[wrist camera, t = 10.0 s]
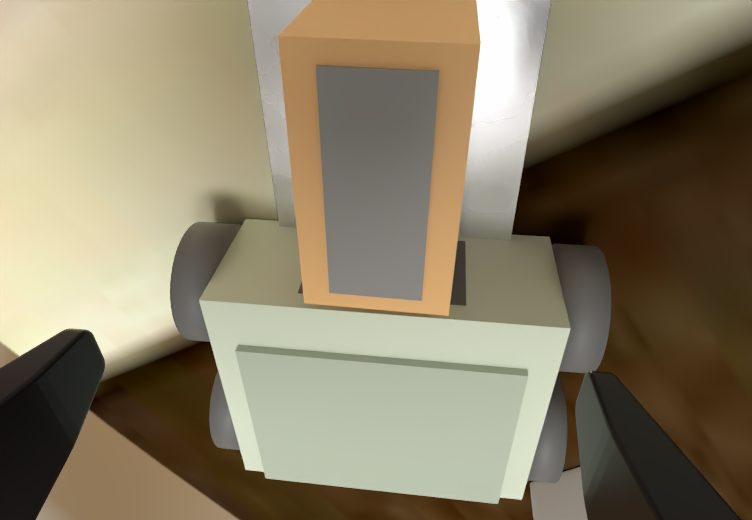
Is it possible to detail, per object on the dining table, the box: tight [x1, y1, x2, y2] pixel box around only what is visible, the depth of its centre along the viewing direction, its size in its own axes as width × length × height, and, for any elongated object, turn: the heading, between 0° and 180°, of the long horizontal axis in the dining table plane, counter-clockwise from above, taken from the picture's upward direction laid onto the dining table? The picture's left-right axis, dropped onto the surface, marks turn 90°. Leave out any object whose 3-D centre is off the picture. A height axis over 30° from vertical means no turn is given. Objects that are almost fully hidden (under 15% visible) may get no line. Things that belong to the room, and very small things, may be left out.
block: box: [278, 0, 481, 316], centre depth 16 cm, size 8×4×5 cm, turn 0°
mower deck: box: [170, 219, 611, 504], centre depth 22 cm, size 15×12×5 cm
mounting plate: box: [247, 0, 551, 240], centre depth 19 cm, size 9×8×1 cm
